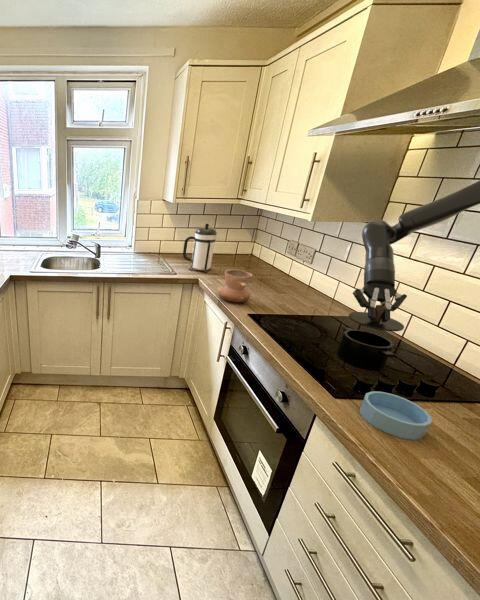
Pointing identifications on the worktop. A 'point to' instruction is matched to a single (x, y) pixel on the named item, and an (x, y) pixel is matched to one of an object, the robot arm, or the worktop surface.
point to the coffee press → (201, 248)
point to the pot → (364, 349)
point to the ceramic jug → (235, 286)
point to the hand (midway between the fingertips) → (378, 320)
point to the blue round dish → (395, 415)
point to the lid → (376, 320)
